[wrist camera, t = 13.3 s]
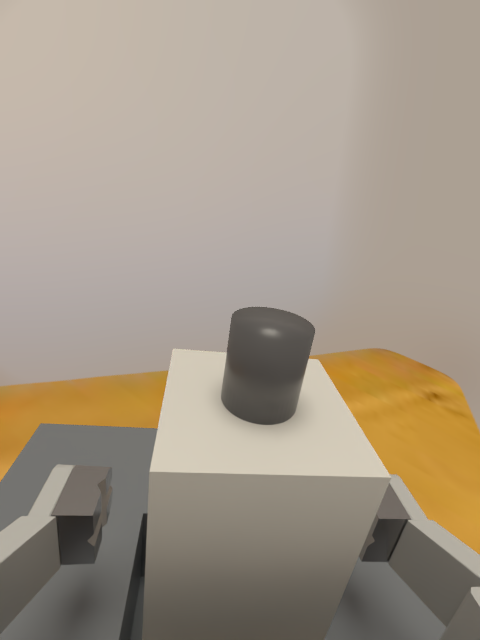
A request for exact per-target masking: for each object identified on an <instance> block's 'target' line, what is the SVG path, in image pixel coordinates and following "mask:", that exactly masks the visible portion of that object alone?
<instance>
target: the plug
mask: <svg viewBox="0 0 480 640" xmlns="http://www.w3.org/2000/svg"><path fill="white" fill-rule="evenodd" d="M314 334H315V328H314V327H313V325H312V324H311V323H310V322H309V321H307V320H306V319H304V318H302V317H300V316H298V315H296V314H293V313H290V312H287V311H284V310H279V309H274V308H267V307H248V308H243V309H239V310H237V311H235V312H234V313H233V314H232V318H231V325H230V333H229V340H228V347H227V353H224V352H210V351H197V350H184V349H173V352H172V358H171V362H170V367H169V373H168V378H167V383H166V388H165V393H164V399H163V404H162V409H161V414H160V419H159V424H158V430H157V435H156V440H155V445H154V450H153V456H152V461H151V466H150V471H149V493H148V515H147V538H146V561H145V584H144V607H143V629H142V640H324V638H325V636H326V634H327V631H328V629H329V626H330V624H331V622H332V619H333V617H334V614H335V612H336V610H337V607H338V605H339V602H340V600H341V598H342V595H343V593H344V590H345V588H346V586H347V583H348V581H349V578H350V576H351V574H352V571H353V569H354V566H355V564H356V562H357V559H358V557H359V554H360V552H361V549H362V547H363V545H364V542H365V540H366V537H367V535H368V533H369V530H370V528H371V525H372V523H373V521H374V518H375V516H376V513H377V511H378V509H379V506H380V504H381V501H382V499H383V497H384V494H385V492H386V489H387V487H388V485H389V482H390V480H391V476H390V475H389V473H388V471H387V470H386V468H385V466H384V465H383V463H382V462H381V460H380V458H379V457H378V455H377V454H376V452H375V450H374V449H373V447H372V446H371V444H370V442H369V441H368V439H367V437H366V436H365V434H364V433H363V431H362V429H361V428H360V426H359V425H358V423H357V421H356V420H355V418H354V416H353V415H352V413H351V412H350V410H349V408H348V407H347V405H346V404H345V402H344V400H343V399H342V397H341V395H340V394H339V392H338V391H337V389H336V387H335V386H334V384H333V383H332V381H331V379H330V378H329V376H328V375H327V373H326V371H325V370H324V368H323V366H322V365H321V363H320V362H319V360H317V359H309V355H310V350H311V346H312V342H313V338H314Z"/></svg>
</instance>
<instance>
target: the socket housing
mask: <svg viewBox="0 0 480 640" xmlns="http://www.w3.org/2000/svg"><path fill="white" fill-rule="evenodd" d="M157 430H158V429H154V428H132V427H109V426H86V425H64V424H40V425H39V427H38V428H37V430H36V431H35V433H34V434H33V436H32V437H31V439H30V440H29V441H28V443H27V444H26V446H25V447H24V449H23V450H22V452H21V453H20V454H19V456H18V457H17V459H16V460H15V462H14V463H13V465H12V466H11V468H10V469H9V470H8V472H7V473H6V475H5V476H4V478H3V479H2V481H1V482H0V532H1V531H2V530H3V529H5V528H6V527H7V526H9V525H10V524H11V523H13V522H14V521H15V520H17V519H18V518H19V517H21V516H28V514H29V512H30V510H31V508H32V506H33V504H34V503H35V501H36V499H37V497H38V495H39V493H40V492H41V490H42V488H43V486H44V484H45V482H46V481H47V479H48V477H49V475H50V473H51V471H52V470H53V468H54V467H55V466H56V465H57V464H61V465H85V466H103V467H112V479H111V483H110V486H111V487H112V488H113V493H112V503H111V509H110V514H109V517H108V521H107V524H106V525H105V526H104V527H102V541H101V544H100V548H99V551H98V554H97V558H96V561H95V564H77V565H60V566H61V568H60V569H59V570H58V571H57V572H56V573H55V574H54V575H53V576H52V578H51V579H50V580H49V581H48V582H47V583H46V584H45V585H44V586H43V588H42V589H41V590H40V591H39V592H38V593H37V594H36V595H35V596H34V598H33V599H32V600H31V601H30V602H29V603H28V604H27V605H26V606H25V607H24V609H23V610H22V611H21V612H20V613H19V614H18V615H17V616H16V617H15V619H14V620H13V621H12V622H11V623H10V624H9V625H8V626H7V627H6V629H5V630H4V631H3V632H2V633H1V634H0V639H1V640H142V629H143V607H144V584H145V561H146V538H147V515H148V493H149V471H150V466H151V461H152V456H153V450H154V445H155V440H156V435H157ZM388 563H389V562H361V560H360V557H358V559H357V562H356V564H355V566H354V569H353V571H352V574H351V576H350V578H349V581H348V583H347V586H346V588H345V590H344V593H343V595H342V598H341V600H340V602H339V605H338V607H337V610H336V612H335V614H334V617H333V619H332V622H331V624H330V626H329V629H328V631H327V634H326V636H325V638H324V640H439V639H440V637H441V635H442V634H443V632H444V631H445V629H446V627H445V625H444V624H443V623H442V622H441V621H440V620H439V619H438V618H437V617H436V616H435V615H434V614H433V612H432V611H431V610H430V609H429V608H428V607H427V606H426V605H425V604H424V603H423V602H422V600H421V599H420V598H419V597H418V596H417V595H416V594H415V593H414V592H413V591H412V590H411V588H410V587H409V586H408V585H407V584H406V583H405V582H404V581H403V580H402V579H401V578H400V576H399V575H398V574H397V573H396V572H395V571H394V570H393V569H392V568H391V567H390V566H389V564H388Z"/></svg>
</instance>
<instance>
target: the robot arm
mask: <svg viewBox="0 0 480 640" xmlns="http://www.w3.org/2000/svg"><path fill="white" fill-rule="evenodd" d="M389 475H390V476H391V480H390V482H389V485H388V487H387V489H386V492H385V494H384V497H383V499H382V501H381V504H380V506H379V509H378V511H377V513H376V516H375V518H374V521H373V523H372V525H371V528H370V530H369V533H368V535H367V537H366V540H365V542H364V545H363V547H362V549H361V552H360V554H359V557H360V560H361V562H389V563H388V564H389V566H390V567H391V568H392V569H393V570H394V571H395V572H396V573H397V574H398V575H399V576H400V578H401V579H402V580H403V581H404V582H405V583H406V584H407V585H408V586H409V587H410V588H411V590H412V591H413V592H414V593H415V594H416V595H417V596H418V597H419V598H420V599H421V600H422V602H423V603H424V604H425V605H426V606H427V607H428V608H429V609H430V610H431V611H432V612H433V614H434V615H435V616H436V617H437V618H438V619H439V620H440V621H441V622H442V623H443V624H444V625H445V627H446V629H445V631H444V632H443V634H442V635H441V637H440V639H439V640H480V555H479V554H478V553H476V552H475V551H474V550H472V549H471V548H470V547H468V546H467V545H466V544H464V543H463V542H462V541H460V540H459V539H458V538H456V537H455V536H454V535H452V534H451V533H449V532H448V531H447V530H445V529H444V528H443V527H441V526H440V525H439V524H437V523H436V522H435V521H433V520H428V519H427V517H426V516H425V514H424V513H423V511H422V510H421V508H420V507H419V505H418V504H417V502H416V501H415V499H414V498H413V496H412V495H411V493H410V492H409V490H408V489H407V487H406V486H405V484H404V482H403V481H402V479H401V478H400V477H399V476H397V475H391V474H389ZM111 479H112V467H103V466H85V465H61V464H57V465H56V466H55V467H54V468H53V470H52V471H51V473H50V475H49V477H48V479H47V481H46V482H45V484H44V486H43V488H42V490H41V492H40V493H39V495H38V497H37V499H36V501H35V503H34V504H33V506H32V508H31V510H30V512H29V514H28V516H21V517H19V518H18V519H17V520H15V521H14V522H13V523H11V524H10V525H9V526H7V527H6V528H5V529H3V530H2V531H1V532H0V634H1V633H2V632H3V631H4V630H5V629H6V627H7V626H8V625H9V624H10V623H11V622H12V621H13V620H14V619H15V617H16V616H17V615H18V614H19V613H20V612H21V611H22V610H23V609H24V607H25V606H26V605H27V604H28V603H29V602H30V601H31V600H32V599H33V598H34V596H35V595H36V594H37V593H38V592H39V591H40V590H41V589H42V588H43V586H44V585H45V584H46V583H47V582H48V581H49V580H50V579H51V578H52V576H53V575H54V574H55V573H56V572H57V571H58V570H59V569H60V568H61V566H60V565H77V564H95V561H96V558H97V554H98V551H99V548H100V544H101V541H102V527H104V526H105V525H106V524H107V521H108V517H109V514H110V509H111V503H112V493H113V488H112V487H111V486H110V483H111ZM0 640H1V639H0Z"/></svg>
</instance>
